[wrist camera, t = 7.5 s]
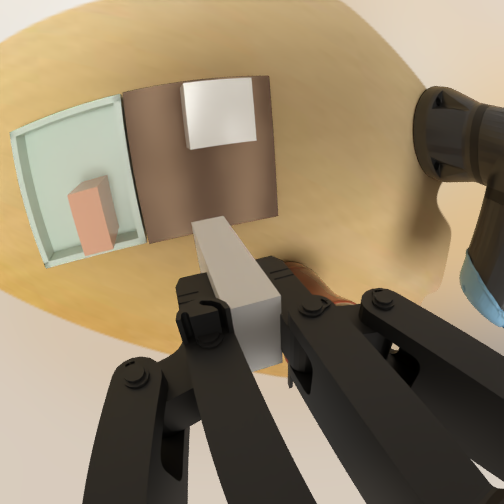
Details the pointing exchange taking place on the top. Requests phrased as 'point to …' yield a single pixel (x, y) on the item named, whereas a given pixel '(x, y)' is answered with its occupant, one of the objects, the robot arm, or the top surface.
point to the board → (197, 164)
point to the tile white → (218, 112)
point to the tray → (76, 175)
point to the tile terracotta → (94, 215)
